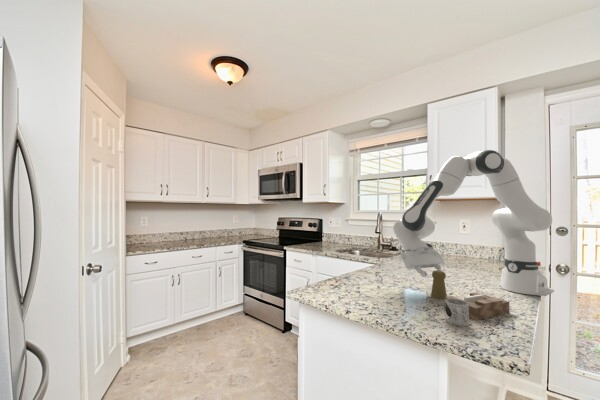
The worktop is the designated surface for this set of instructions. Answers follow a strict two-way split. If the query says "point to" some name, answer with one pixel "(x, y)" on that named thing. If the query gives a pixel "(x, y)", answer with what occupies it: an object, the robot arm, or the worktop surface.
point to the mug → (457, 312)
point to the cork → (438, 285)
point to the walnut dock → (485, 307)
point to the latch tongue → (474, 298)
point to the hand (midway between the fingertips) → (433, 275)
